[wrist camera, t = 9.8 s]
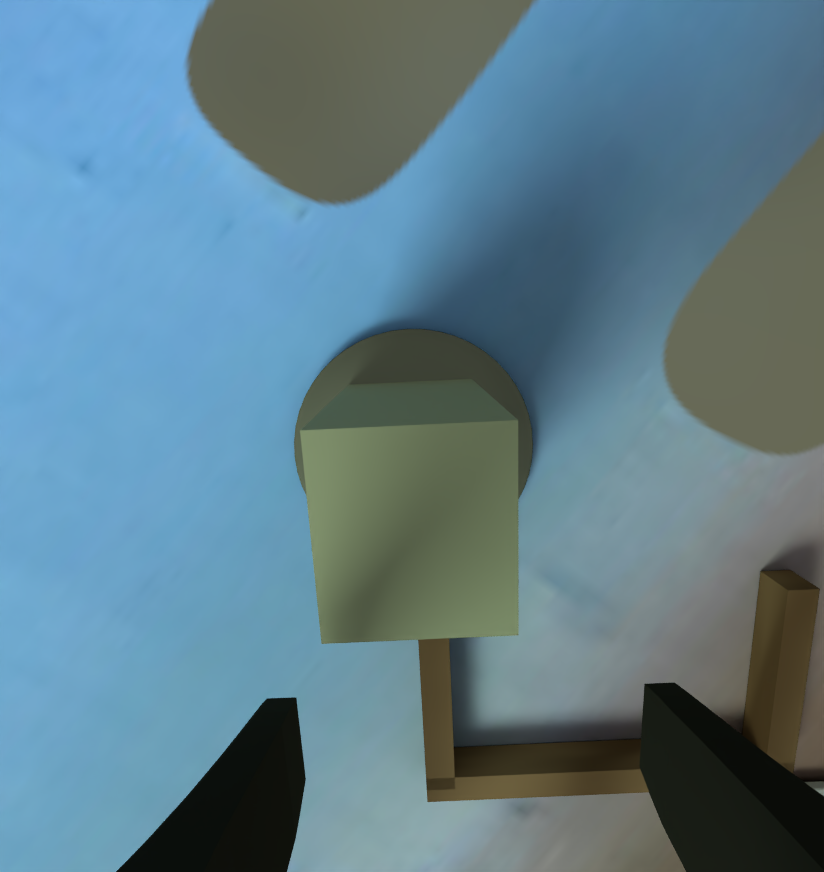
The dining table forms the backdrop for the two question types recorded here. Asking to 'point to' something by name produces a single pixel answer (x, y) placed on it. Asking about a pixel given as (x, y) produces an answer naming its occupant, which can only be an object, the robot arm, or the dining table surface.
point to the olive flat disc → (416, 379)
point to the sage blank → (413, 512)
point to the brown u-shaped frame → (619, 759)
